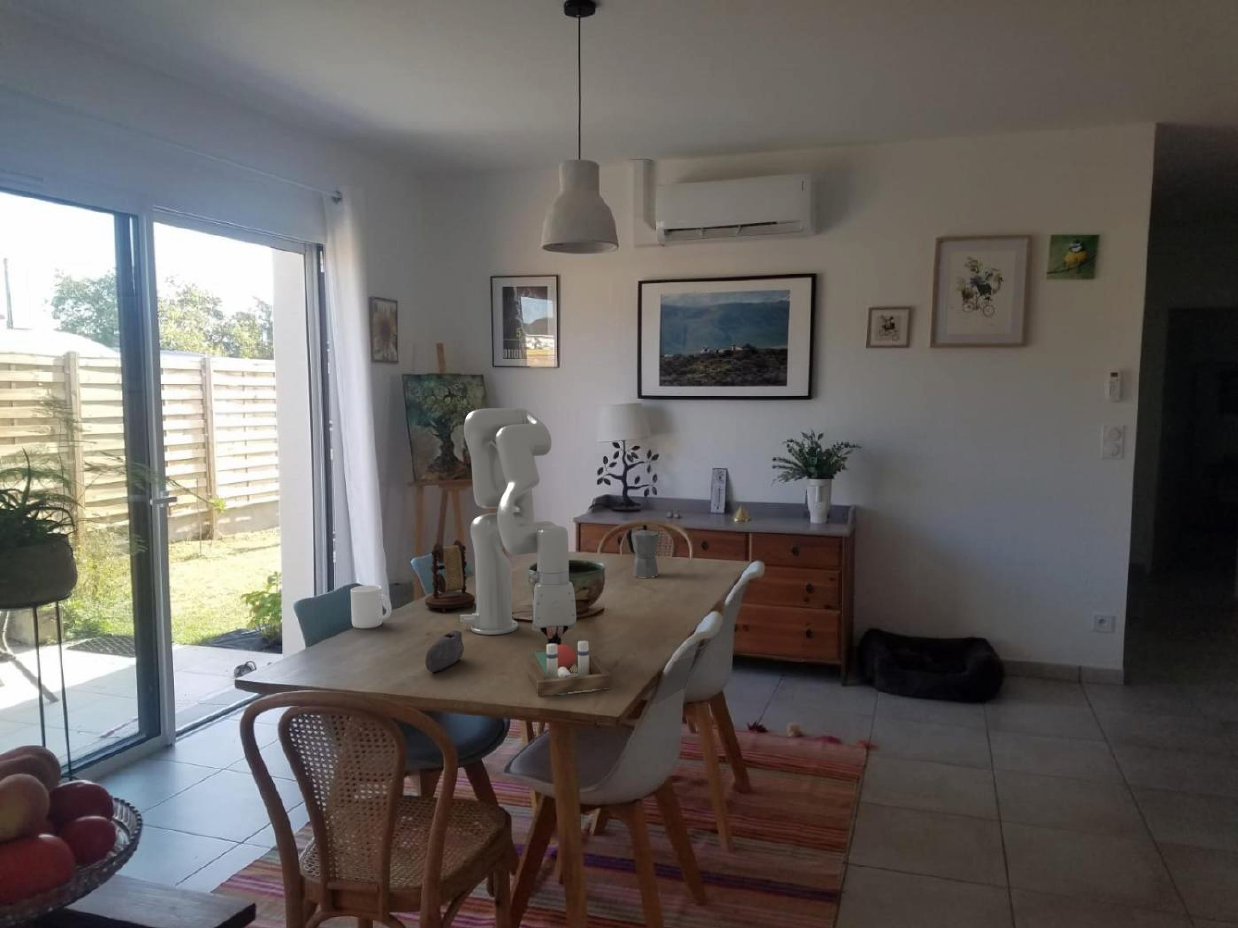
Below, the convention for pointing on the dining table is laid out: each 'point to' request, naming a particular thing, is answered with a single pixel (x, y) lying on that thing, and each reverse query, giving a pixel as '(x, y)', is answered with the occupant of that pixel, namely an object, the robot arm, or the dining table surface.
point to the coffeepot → (643, 551)
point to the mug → (368, 606)
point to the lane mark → (543, 661)
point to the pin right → (583, 658)
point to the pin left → (552, 661)
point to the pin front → (563, 672)
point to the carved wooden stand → (449, 578)
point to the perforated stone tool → (444, 651)
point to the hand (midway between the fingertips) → (554, 652)
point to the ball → (566, 656)
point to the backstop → (571, 680)
